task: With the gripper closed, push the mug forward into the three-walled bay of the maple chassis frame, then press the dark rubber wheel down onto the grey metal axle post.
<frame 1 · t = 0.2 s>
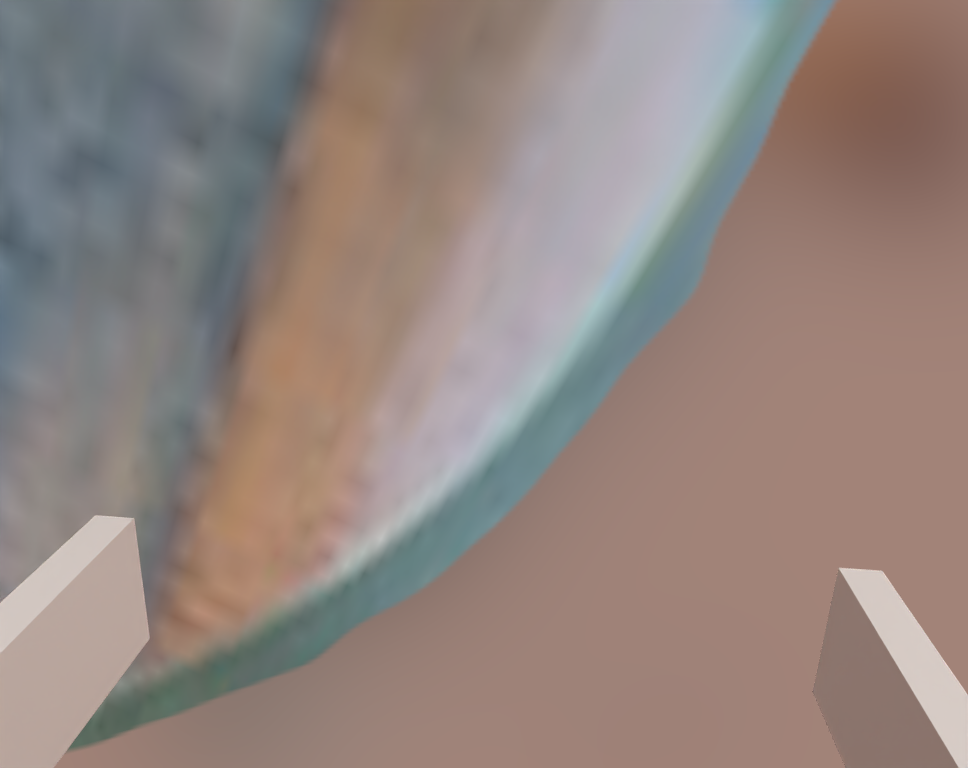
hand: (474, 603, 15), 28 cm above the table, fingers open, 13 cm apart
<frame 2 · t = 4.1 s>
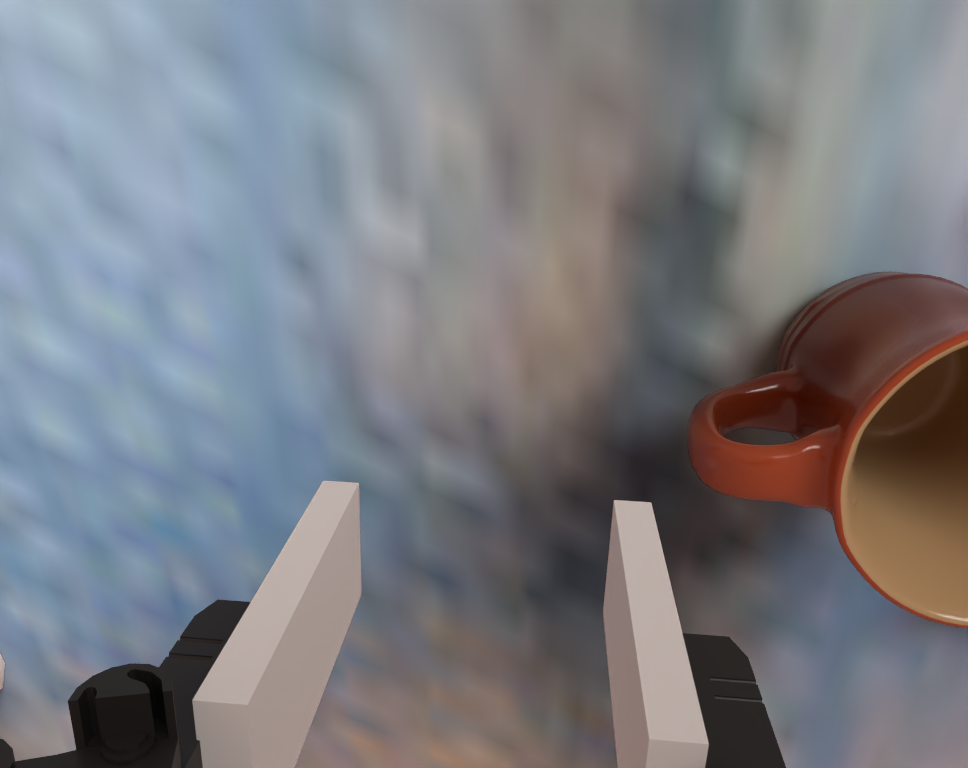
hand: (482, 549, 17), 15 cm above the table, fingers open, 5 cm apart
mug: (821, 360, 30), on the table
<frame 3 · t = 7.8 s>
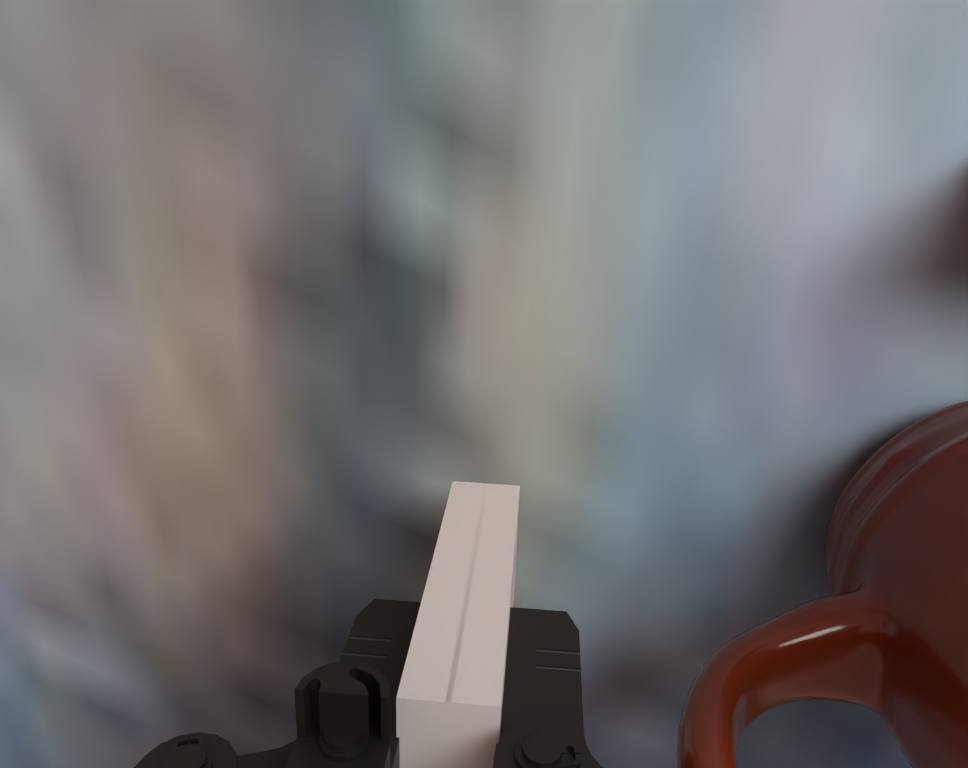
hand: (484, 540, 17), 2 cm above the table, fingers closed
mug: (897, 527, 18), on the table, touching hand
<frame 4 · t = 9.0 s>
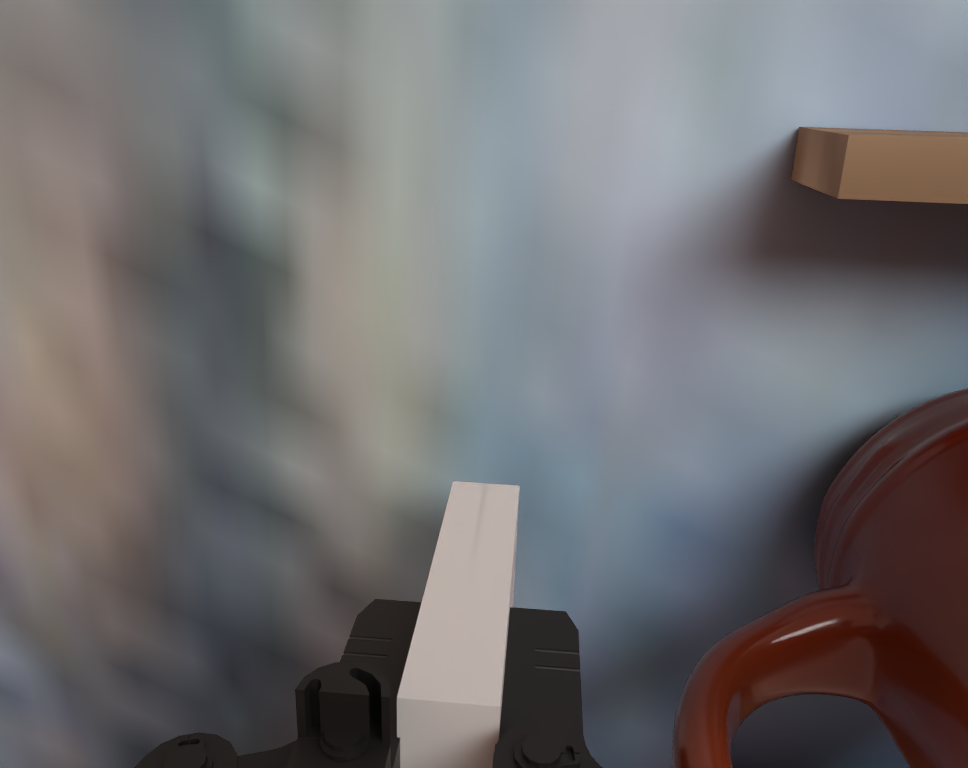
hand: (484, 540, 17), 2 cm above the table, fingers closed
mug: (885, 519, 18), on the table, touching hand
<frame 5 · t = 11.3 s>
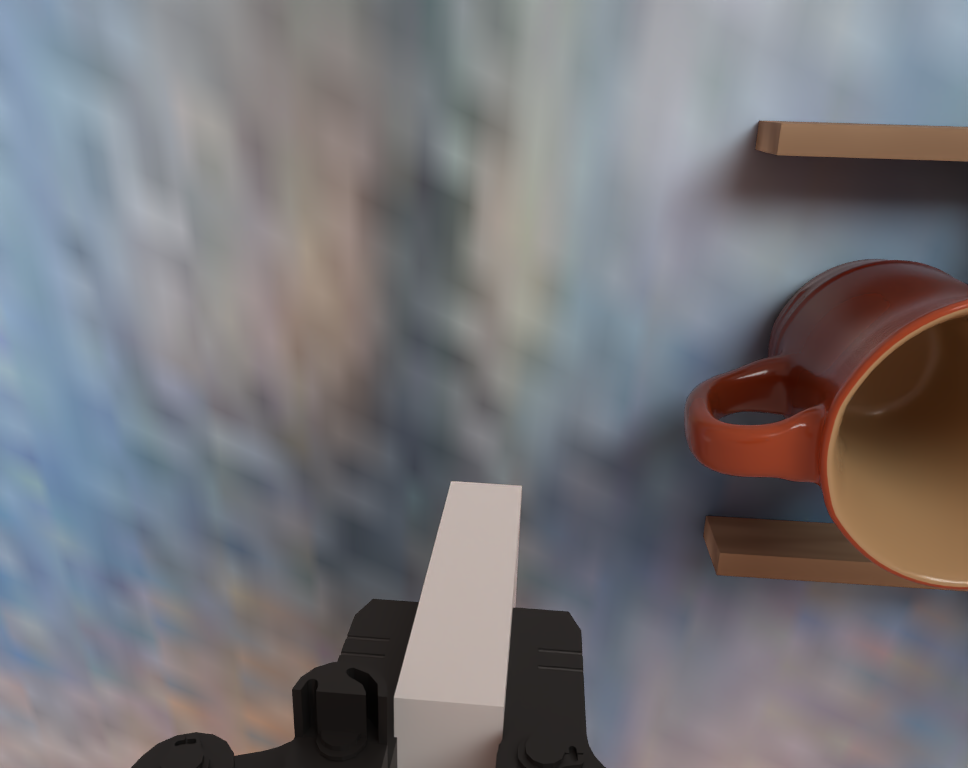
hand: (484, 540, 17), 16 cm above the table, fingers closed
mug: (810, 345, 32), on the table
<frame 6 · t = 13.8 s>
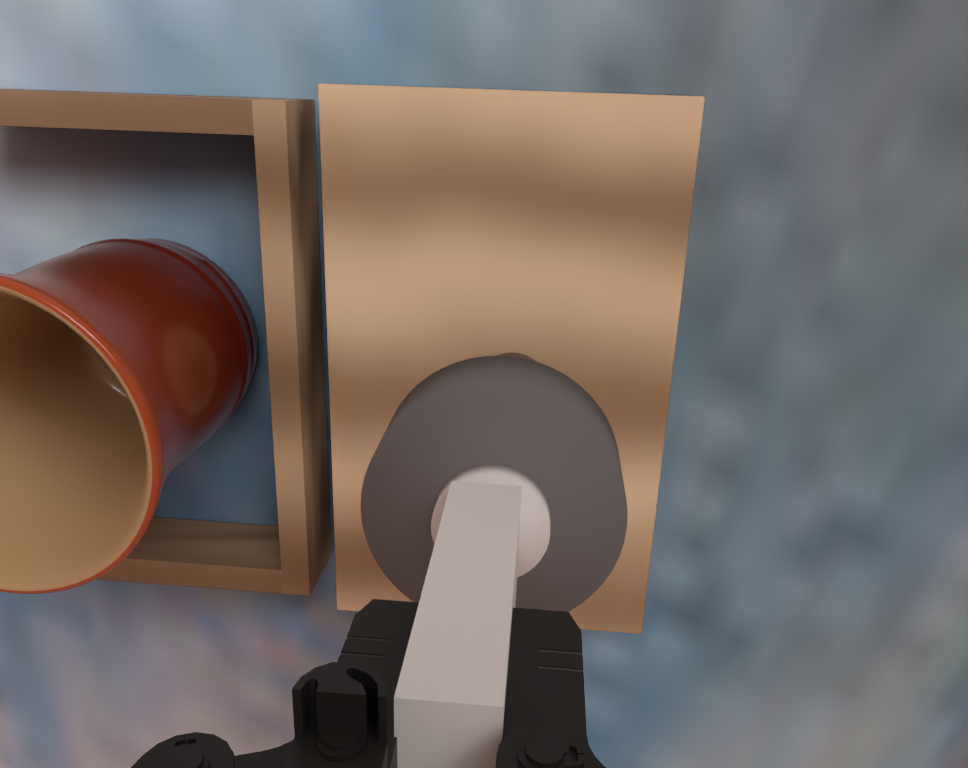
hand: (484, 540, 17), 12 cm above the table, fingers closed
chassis: (350, 349, 29), on the table
wheel: (495, 497, 19), point 10 cm above the table, slide at 0.6 cm, touching gripper
mug: (132, 331, 30), on the table
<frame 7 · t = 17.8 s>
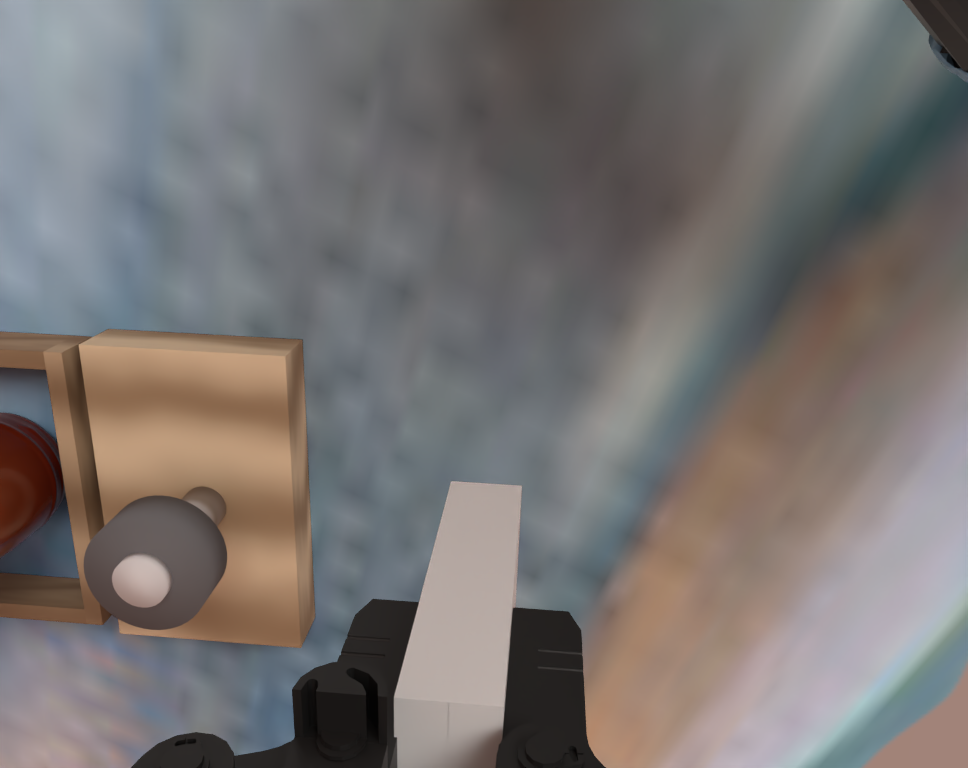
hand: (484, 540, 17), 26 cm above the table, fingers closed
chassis: (127, 475, 48), on the table
wheel: (154, 565, 39), point 9 cm above the table, slide at 2.0 cm
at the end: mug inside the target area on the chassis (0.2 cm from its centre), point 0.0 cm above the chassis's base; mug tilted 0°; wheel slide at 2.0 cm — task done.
